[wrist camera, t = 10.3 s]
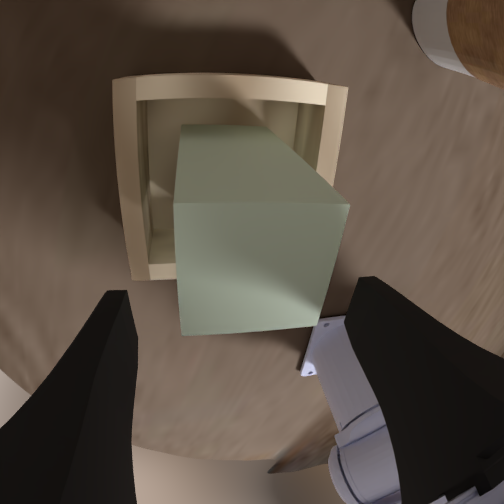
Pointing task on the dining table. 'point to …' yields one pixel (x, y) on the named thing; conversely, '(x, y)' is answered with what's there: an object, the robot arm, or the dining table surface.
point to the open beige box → (209, 113)
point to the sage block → (251, 232)
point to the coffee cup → (463, 36)
